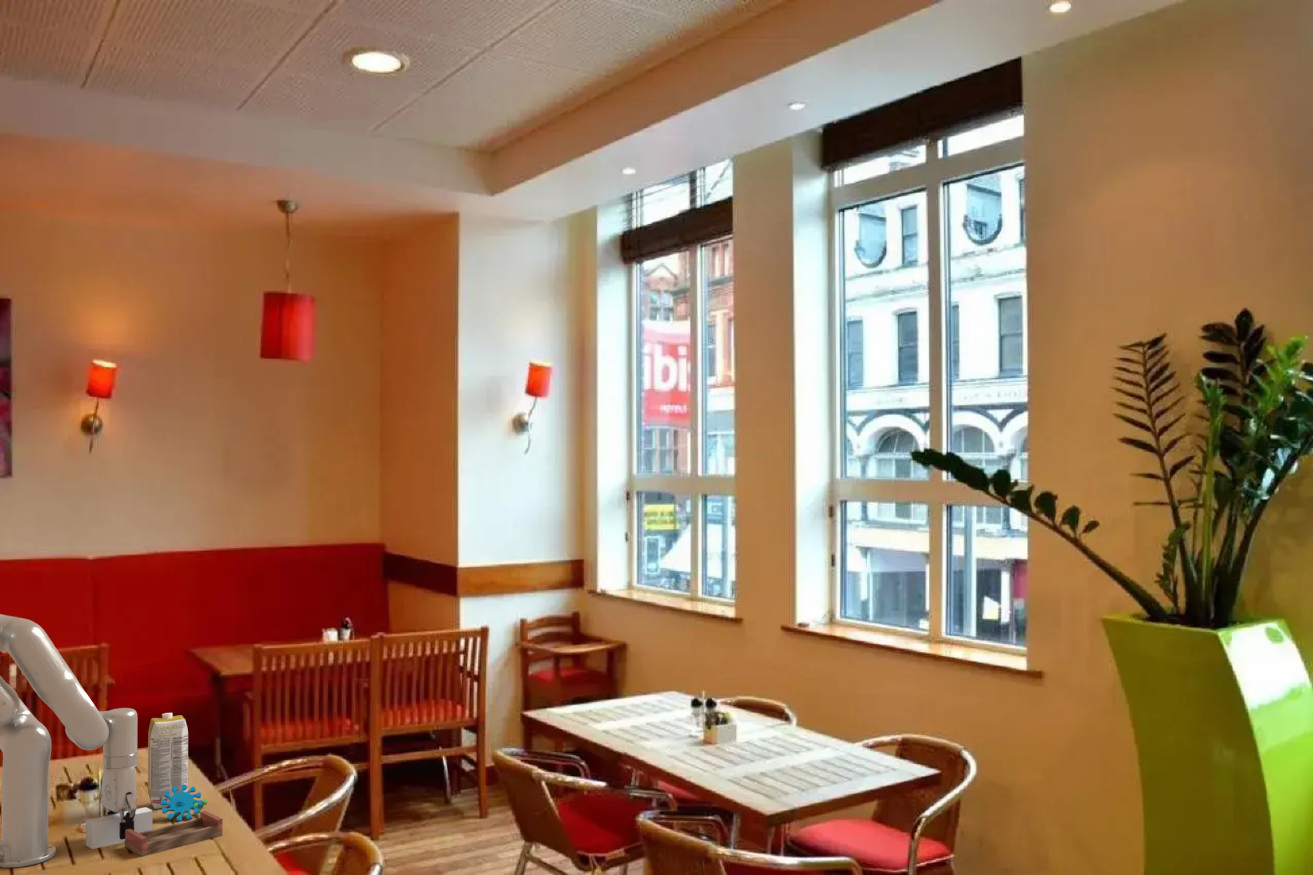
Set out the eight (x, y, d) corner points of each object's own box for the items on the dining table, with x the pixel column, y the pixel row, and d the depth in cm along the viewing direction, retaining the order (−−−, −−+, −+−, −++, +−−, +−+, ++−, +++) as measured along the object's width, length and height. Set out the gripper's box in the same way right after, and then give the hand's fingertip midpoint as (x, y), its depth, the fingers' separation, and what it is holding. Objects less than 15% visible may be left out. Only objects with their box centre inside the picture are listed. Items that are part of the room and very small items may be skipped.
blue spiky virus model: (157, 818, 278) (164, 782, 286) (156, 830, 282) (162, 794, 289) (204, 819, 282) (209, 783, 289) (202, 830, 286) (207, 795, 293)
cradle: (141, 856, 256) (142, 838, 256) (125, 846, 262) (125, 829, 263) (222, 835, 270) (222, 818, 271) (204, 826, 277) (204, 810, 277)
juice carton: (183, 797, 301) (184, 709, 302) (188, 805, 294) (189, 714, 295) (146, 803, 296) (147, 713, 297) (150, 811, 289) (151, 719, 290)
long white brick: (92, 849, 261) (92, 824, 261) (85, 845, 264) (86, 820, 264) (152, 835, 271) (152, 810, 271) (145, 831, 274) (145, 807, 274)
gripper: (89, 757, 271) (89, 830, 271) (118, 770, 259) (118, 846, 259) (121, 751, 277) (121, 822, 276) (151, 764, 265) (150, 838, 265)
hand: (119, 833), depth 268 cm, fingers open, 7 cm apart
